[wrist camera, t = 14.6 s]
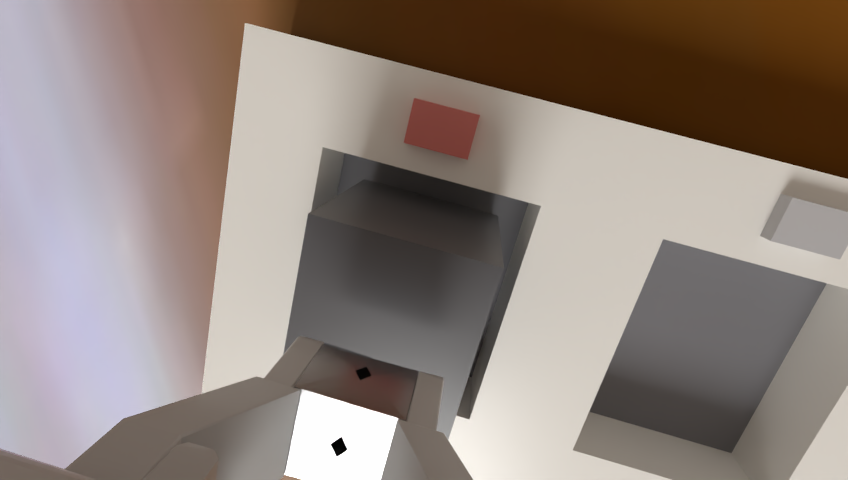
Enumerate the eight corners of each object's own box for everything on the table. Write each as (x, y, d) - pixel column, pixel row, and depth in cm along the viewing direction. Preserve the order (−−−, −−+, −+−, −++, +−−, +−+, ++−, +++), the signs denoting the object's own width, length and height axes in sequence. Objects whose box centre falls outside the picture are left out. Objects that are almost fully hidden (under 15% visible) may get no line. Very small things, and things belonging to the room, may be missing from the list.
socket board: (954, 210, 15) (1094, 242, 11) (763, 518, 18) (824, 609, 15) (289, 37, 16) (235, 19, 12) (241, 363, 20) (191, 416, 16)
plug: (497, 209, 16) (503, 268, 10) (455, 346, 18) (440, 463, 12) (371, 174, 16) (308, 213, 10) (341, 313, 18) (272, 413, 12)
